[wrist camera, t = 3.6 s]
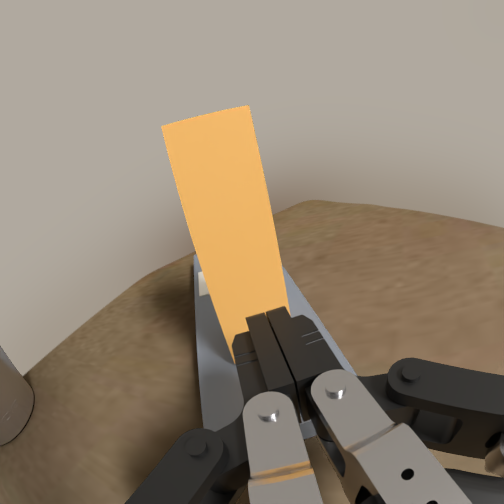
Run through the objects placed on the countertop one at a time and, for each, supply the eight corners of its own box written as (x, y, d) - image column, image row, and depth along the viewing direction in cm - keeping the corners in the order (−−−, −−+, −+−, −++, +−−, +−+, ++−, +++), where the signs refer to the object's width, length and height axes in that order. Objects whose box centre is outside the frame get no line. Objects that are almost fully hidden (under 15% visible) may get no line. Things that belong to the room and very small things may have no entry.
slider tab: (295, 345, 17) (248, 105, 11) (234, 363, 17) (161, 126, 11) (275, 304, 22) (234, 115, 16) (225, 318, 21) (170, 131, 16)
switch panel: (367, 414, 13) (371, 395, 12) (217, 461, 12) (205, 447, 12) (265, 250, 37) (261, 235, 36) (198, 268, 36) (193, 254, 35)
